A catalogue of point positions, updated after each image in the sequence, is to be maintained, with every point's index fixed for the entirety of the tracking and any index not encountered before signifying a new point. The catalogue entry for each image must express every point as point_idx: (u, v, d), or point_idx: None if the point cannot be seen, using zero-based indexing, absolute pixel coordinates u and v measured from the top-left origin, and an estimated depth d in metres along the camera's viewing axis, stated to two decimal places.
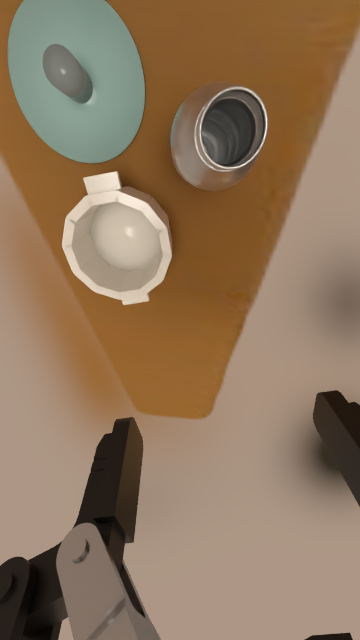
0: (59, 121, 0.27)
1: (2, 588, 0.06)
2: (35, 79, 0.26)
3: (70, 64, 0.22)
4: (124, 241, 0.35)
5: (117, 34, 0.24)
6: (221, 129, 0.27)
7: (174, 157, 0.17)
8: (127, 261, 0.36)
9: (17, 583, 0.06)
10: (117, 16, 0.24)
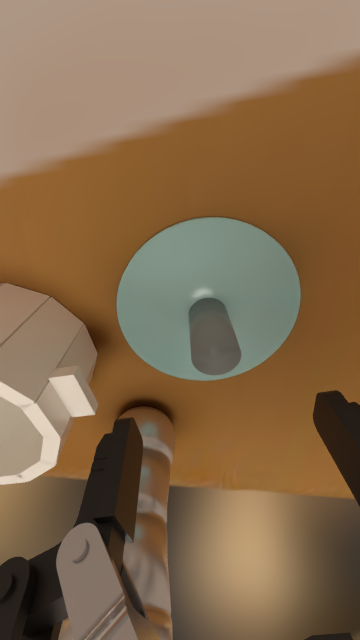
0: (167, 281, 0.17)
1: (3, 588, 0.06)
2: (216, 258, 0.17)
3: (219, 368, 0.15)
4: None
5: (247, 360, 0.21)
6: None
7: None
8: None
9: (17, 583, 0.06)
10: (261, 361, 0.21)
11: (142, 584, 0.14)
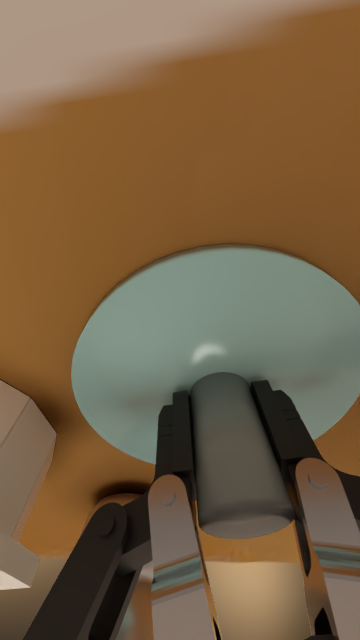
0: (155, 349, 0.10)
1: (106, 526, 0.07)
2: (239, 316, 0.10)
3: (249, 532, 0.08)
4: None
5: None
6: None
7: None
8: None
9: (118, 523, 0.07)
10: None
11: None
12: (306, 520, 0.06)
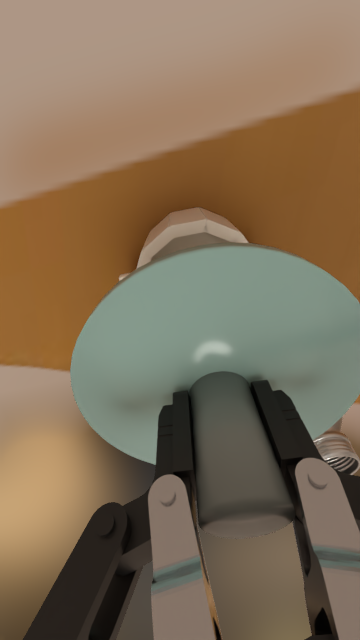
0: (155, 349, 0.10)
1: (105, 526, 0.07)
2: (240, 315, 0.10)
3: (249, 531, 0.08)
4: None
5: None
6: None
7: None
8: None
9: (118, 523, 0.07)
10: None
11: None
12: (306, 520, 0.06)
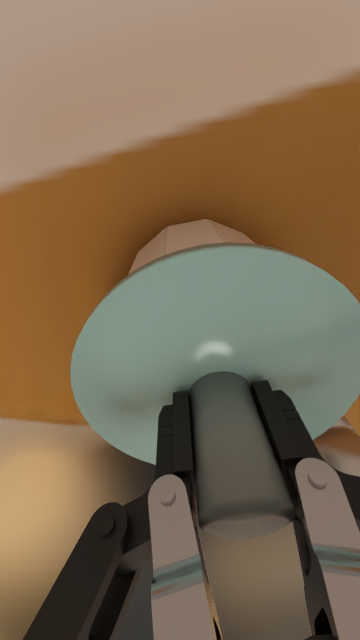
0: (154, 349, 0.10)
1: (106, 526, 0.07)
2: (239, 315, 0.10)
3: (249, 531, 0.08)
4: None
5: None
6: None
7: None
8: None
9: (118, 523, 0.07)
10: None
11: None
12: (306, 520, 0.06)
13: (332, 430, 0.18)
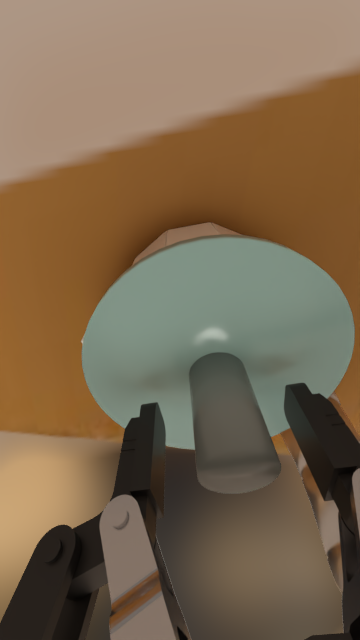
0: (158, 331, 0.11)
1: (52, 551, 0.07)
2: (234, 299, 0.11)
3: (241, 486, 0.09)
4: None
5: (268, 427, 0.16)
6: None
7: None
8: None
9: (65, 547, 0.07)
10: (286, 427, 0.16)
11: None
12: (358, 525, 0.06)
13: None
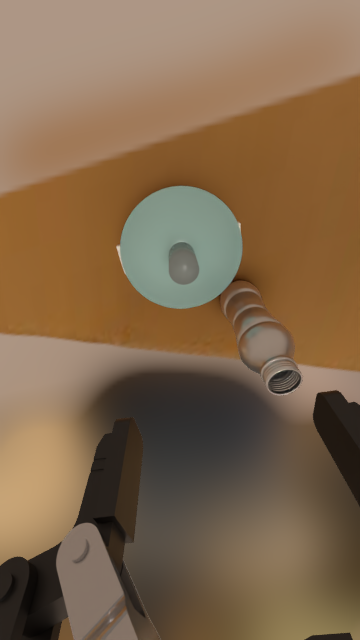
0: (154, 229, 0.27)
1: (2, 588, 0.06)
2: (185, 213, 0.26)
3: (186, 279, 0.24)
4: None
5: (211, 291, 0.31)
6: None
7: (263, 329, 0.26)
8: None
9: (17, 583, 0.06)
10: (220, 292, 0.31)
11: (277, 320, 0.29)
12: None
13: (254, 308, 0.32)
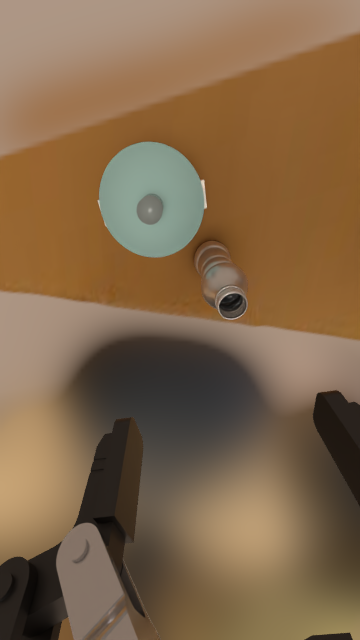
0: (127, 181, 0.31)
1: (2, 588, 0.06)
2: (153, 167, 0.30)
3: (151, 220, 0.29)
4: None
5: (179, 241, 0.35)
6: None
7: (219, 267, 0.31)
8: None
9: (17, 583, 0.06)
10: (188, 242, 0.35)
11: (234, 264, 0.33)
12: None
13: (218, 257, 0.36)
